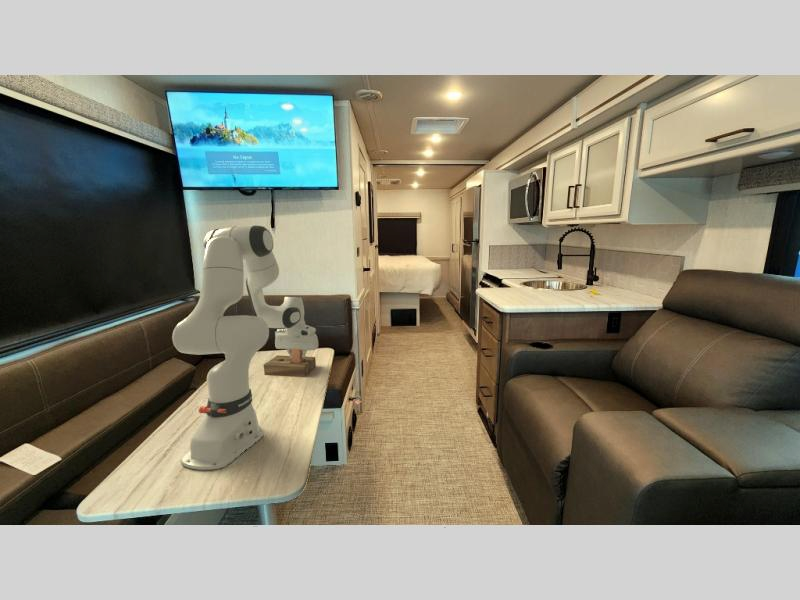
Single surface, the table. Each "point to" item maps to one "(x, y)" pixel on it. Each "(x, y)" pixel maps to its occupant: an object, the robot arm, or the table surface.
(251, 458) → the table surface
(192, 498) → the table surface
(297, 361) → the square peg
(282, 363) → the socket block
